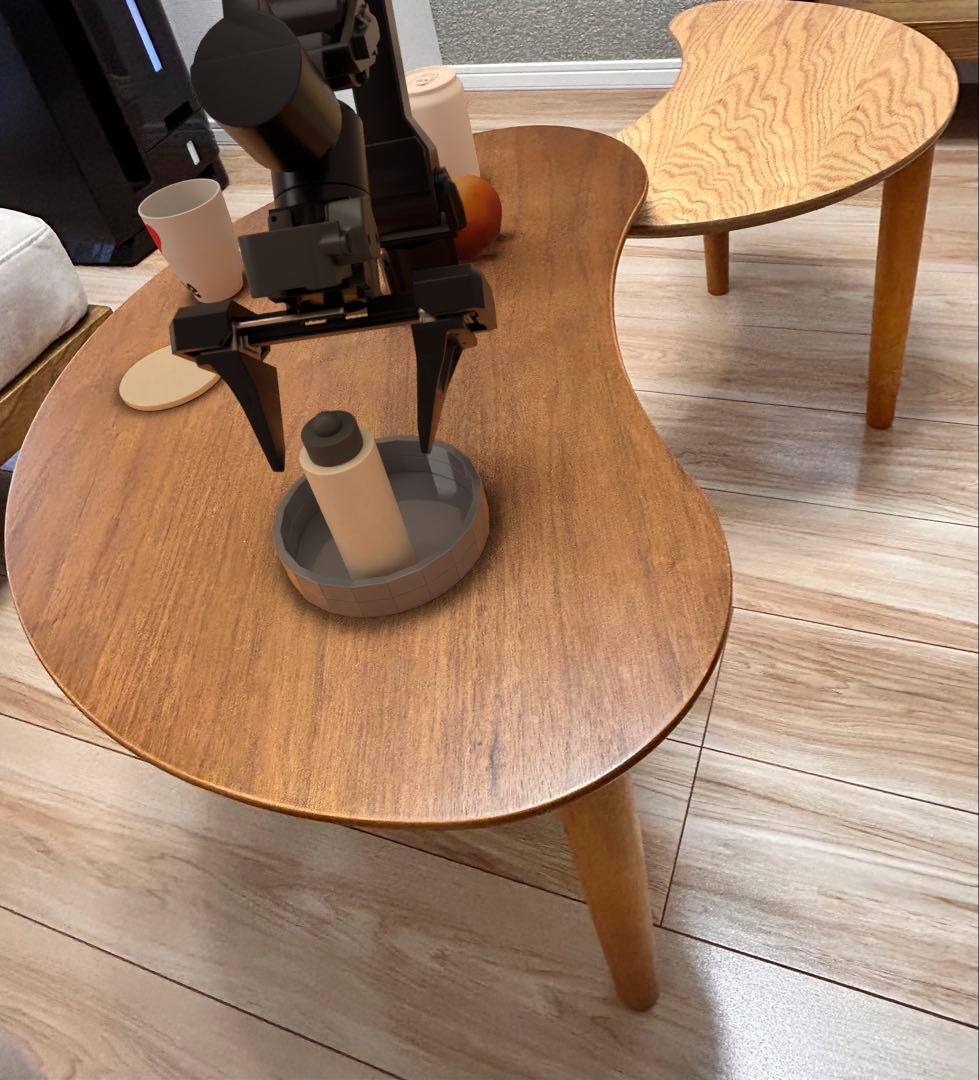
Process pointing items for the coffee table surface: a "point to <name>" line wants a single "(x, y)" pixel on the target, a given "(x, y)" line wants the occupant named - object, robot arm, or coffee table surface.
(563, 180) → the coffee table surface
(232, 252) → the cup
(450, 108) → the beverage can
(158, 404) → the tile coaster
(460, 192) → the fruit
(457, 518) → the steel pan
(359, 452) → the pepper mill
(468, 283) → the robot arm
